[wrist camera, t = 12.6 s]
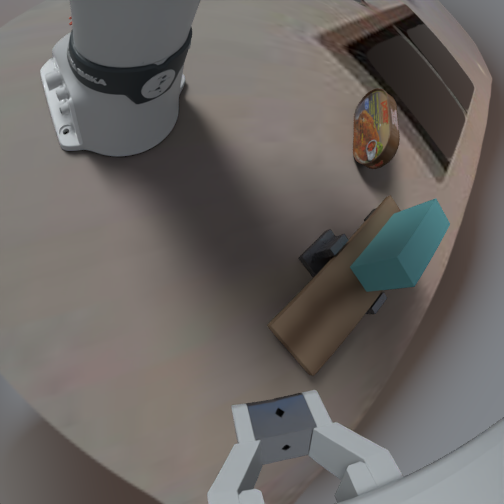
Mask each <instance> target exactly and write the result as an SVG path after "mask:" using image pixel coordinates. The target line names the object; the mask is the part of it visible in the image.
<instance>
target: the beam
mask: <svg viewBox="0 0 504 504" xmlns="http://www.w3.org/2000/svg"><path fill="white" fill-rule="evenodd" d="M397 212H400V209H399V207H398V206H397V204H396V203H395V201H394V200H393V198H392V197H391V195H390V196H388V197H386V198H385V199H384V200H383V202H382V203H381V204H380V205H379V206H378V207H377V208H376V210H375V211H374V212H373V213H372V214H371V215H370V216H369V218H368V219H367V220H366V221H365V222H364V223H363V224H362V226H361V227H360V228H359V229H358V230H357V231H356V232H355V233H354V234H353V236H352V237H351V238H350V239H349V241H348V242H347V243H346V244H345V245H344V246H343V247H342V248H341V249H340V250H339V251H338V253H337V254H336V255H334V256H333V257H332V259H331V260H330V261H329V262H328V263H327V264H326V265H325V266H324V267H323V268H322V269H321V270H320V271H319V272H318V274H317V275H316V276H315V277H314V278H313V279H312V280H311V281H310V282H309V283H308V284H307V285H306V286H305V287H304V288H303V289H302V290H301V291H300V292H299V293H298V294H297V295H296V296H295V297H294V298H293V300H292V301H291V302H290V303H289V304H288V305H287V306H286V307H285V308H284V309H283V310H282V311H281V312H280V313H279V314H278V315H277V316H276V317H275V318H274V319H273V320H272V321H271V322H270V323H269V324H268V325H267V326H268V327H269V329H270V330H271V331H272V332H273V333H274V335H275V336H276V337H277V338H278V339H279V340H280V342H281V343H282V344H283V345H284V346H285V347H286V349H287V350H288V351H289V352H290V353H291V354H292V356H293V357H294V358H295V359H296V360H297V361H298V362H299V364H300V365H301V366H302V367H303V368H304V369H305V371H306V372H307V373H308V374H309V375H312V376H314V375H315V374H316V373H317V372H318V370H319V369H320V368H321V367H322V366H323V365H324V364H325V362H326V361H327V360H328V359H329V358H330V357H331V355H332V354H333V353H334V352H335V351H336V350H337V348H338V347H339V346H340V345H341V344H342V342H343V341H344V340H345V339H346V337H347V336H348V335H349V334H350V332H351V331H352V330H353V329H354V327H355V326H356V325H357V324H358V322H359V321H360V320H361V319H362V317H363V316H364V315H365V313H366V312H367V311H368V309H369V308H370V307H371V305H372V304H373V303H374V301H375V300H376V299H377V297H378V296H379V295H380V293H381V292H382V291H383V290H379V291H369V292H366V290H365V289H364V287H363V286H362V284H361V283H360V281H359V280H358V278H357V277H356V275H355V274H354V273H353V271H352V270H351V268H350V266H351V265H352V264H353V263H354V262H355V260H356V259H357V258H358V257H359V256H360V255H361V253H362V252H363V251H364V250H365V249H366V247H367V246H368V245H369V244H370V243H371V241H372V240H373V239H374V238H375V236H376V235H377V234H378V233H379V232H380V230H381V229H382V228H383V227H384V225H385V224H386V223H387V222H388V220H389V219H390V218H391V216H392V215H393V214H394V213H397Z"/></svg>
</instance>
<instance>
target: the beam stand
mask: <svg viewBox="0 0 504 504" xmlns="http://www.w3.org/2000/svg"><path fill="white" fill-rule="evenodd" d="M375 210H376V209H373V210H372V211H371V213H370V214H369V215H368V216H367V217H366V218H365V219H364V221H366V220H367V219H368V218H369V216H370V215H371V214H372V213H373V212H374V211H375ZM348 241H349V240H348V239H347V237H346V236H345V234H342V235H339V236H335V235H334V234H333V232H332V231H331V230H330V229H329V230H327V231H325V232H324V233H323V234H322V235H321V236H320V237H319V238H318V239H317V240H316V241H315V242H314V243H313V244H312V245H311V246H310V247H309V248H308V249H307V250H306V251H305V252H304V253H303V254H302V255H301V256H300V257H299V259H300V261H301V262H302V263H303V264H304V266H305V267H306V268H307V270H308V271H309V272H310V274H311V275H312V276H313V278H314V277H315V276H316V275H317V274H318V272H319V271H320V270H321V269H322V268H323V267H324V266H325V265H326V264H327V263H328V262H329V261H330V260H331V259H332V257H333V256H334V255H336V254H337V253H338V251H339V250H340V249H341V248H342V247H343V246H344V245H345V244H346V243H347V242H348ZM386 299H387V297H386V295H385V294H384V292H382V293H380V295H379V296H378V297H377V299H376V300H375V301H374V303H373V304H372V305H371V307H370V308H369V309H368V311H367V312H366V313H365V314H376V313H377V311H378V310H379V308H380V307H381V306H382V304H383V303H384V302H385V300H386Z"/></svg>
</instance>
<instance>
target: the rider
mask: <svg viewBox="0 0 504 504" xmlns="http://www.w3.org/2000/svg"><path fill="white" fill-rule="evenodd" d="M449 225H450V223H449V221H448V219H447V217H446V216H445V214H444V212H443V210H442V208H441V206H440V205H439V203H438V201H437V199H433V200H430V201H428V202H425V203H422V204H419V205H417V206H414V207H411V208H408V209H406V210H403V211H400V212H397V213H394V214H393V215H392V216H391V218H390V219H389V220H388V222H387V223H386V224H385V225H384V227H383V228H382V229H381V230H380V232H379V233H378V234H377V235H376V236H375V238H374V239H373V240H372V241H371V243H370V244H369V245H368V246H367V247H366V249H365V250H364V251H363V252H362V253H361V255H360V256H359V257H358V258H357V259H356V260H355V262H354V263H353V264H352V265H351V266H350V268H351V270H352V271H353V273H354V274H355V275H356V277H357V278H358V280H359V281H360V283H361V284H362V286H363V287H364V289H365V290H366V292H369V291H379V290H389V289H398V288H407V287H415V285H416V284H417V282H418V280H419V279H420V277H421V275H422V274H423V272H424V270H425V269H426V267H427V265H428V263H429V262H430V260H431V258H432V257H433V255H434V253H435V251H436V249H437V248H438V246H439V244H440V242H441V240H442V238H443V237H444V235H445V233H446V231H447V229H448V227H449Z"/></svg>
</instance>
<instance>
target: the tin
mask: <svg viewBox="0 0 504 504" xmlns="http://www.w3.org/2000/svg"><path fill="white" fill-rule="evenodd" d="M399 140H400V139H399V126H398V116H397V106H396V102H395V100H394V99H393V98H392V97H391V96H390V95H389V94H387V93H386V92H385V91H384V90H383V89H380V88H378V89H374V90H372V91H370V92H368V93H367V94H366V95H365V96H364V97H363V98H362V100H361V101H360V102H359V104H358V106H357V108H356V111H355V114H354V140H353V155H354V158H355V160H356V161H357V162H358V163H360V164H363V165H365V166H366V167H368V168H371V169H377V168H380V167H382V166H384V165H385V164H387V163H388V162H390V161H391V159H392V158H393V157H394V155H395V153H396V151H397V149H398V146H399Z"/></svg>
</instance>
